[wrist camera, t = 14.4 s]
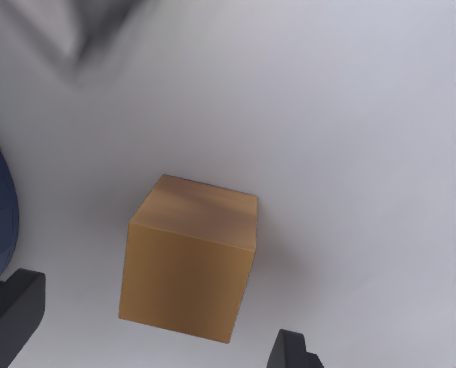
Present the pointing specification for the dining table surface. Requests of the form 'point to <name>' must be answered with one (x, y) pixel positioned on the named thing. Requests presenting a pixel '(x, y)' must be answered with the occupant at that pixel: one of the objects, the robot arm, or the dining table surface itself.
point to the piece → (189, 258)
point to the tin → (7, 216)
